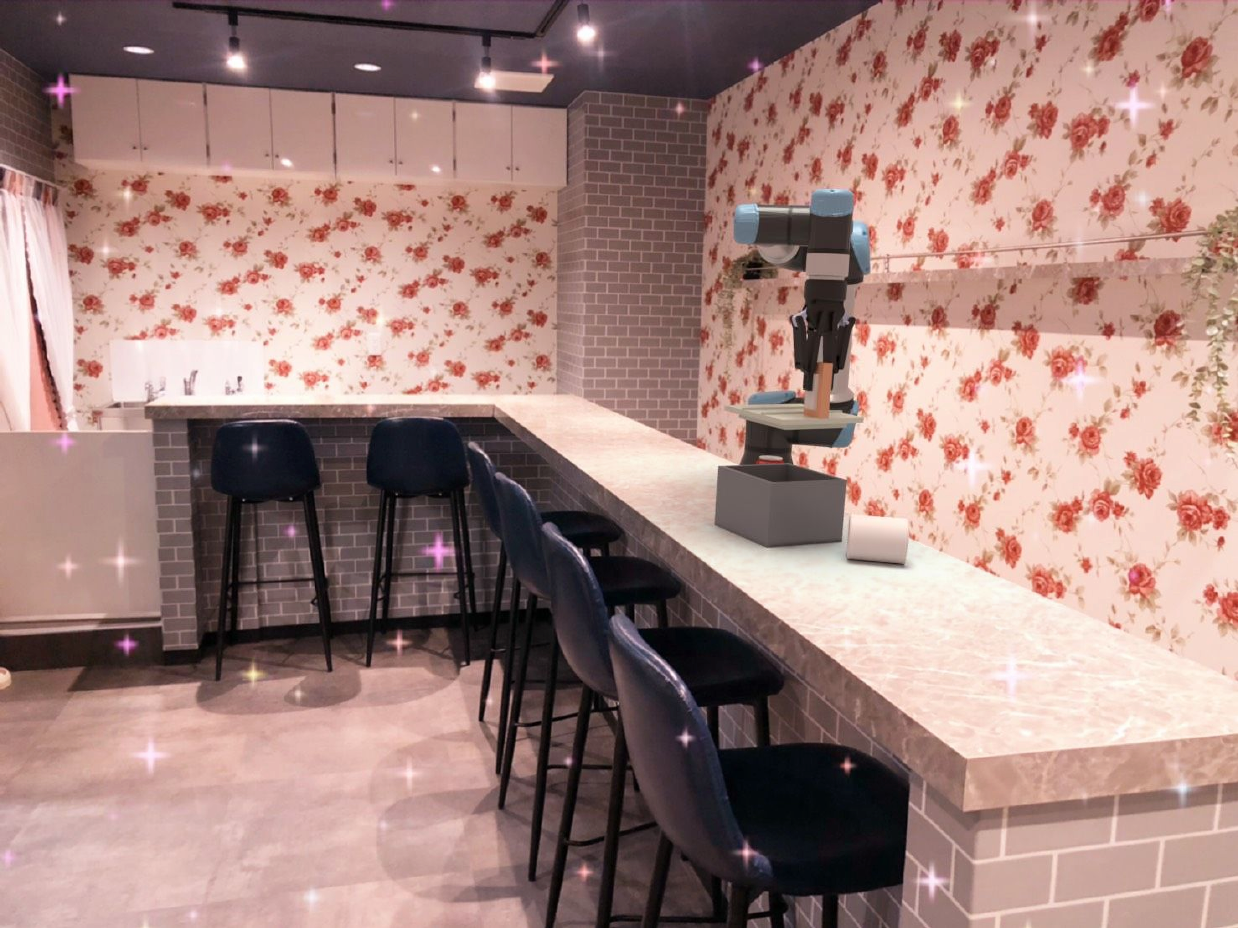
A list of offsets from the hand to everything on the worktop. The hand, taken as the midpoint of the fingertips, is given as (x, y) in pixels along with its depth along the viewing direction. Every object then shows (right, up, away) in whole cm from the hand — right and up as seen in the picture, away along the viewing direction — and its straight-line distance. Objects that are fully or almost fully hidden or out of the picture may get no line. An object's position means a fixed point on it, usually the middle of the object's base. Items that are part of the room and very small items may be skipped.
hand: (816, 408), depth 182 cm
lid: (-3, -2, +7) cm, 8 cm away
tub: (-5, -24, +12) cm, 27 cm away
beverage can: (-4, -21, +31) cm, 38 cm away
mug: (+10, -27, -3) cm, 29 cm away
